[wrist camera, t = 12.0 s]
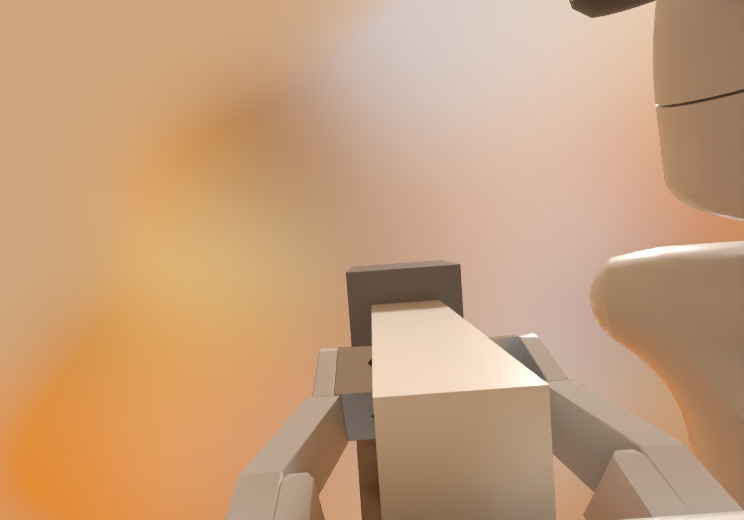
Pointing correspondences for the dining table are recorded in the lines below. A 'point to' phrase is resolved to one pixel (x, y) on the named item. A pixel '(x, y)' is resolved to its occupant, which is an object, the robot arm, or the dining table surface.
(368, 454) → the post
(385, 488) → the cream bar
